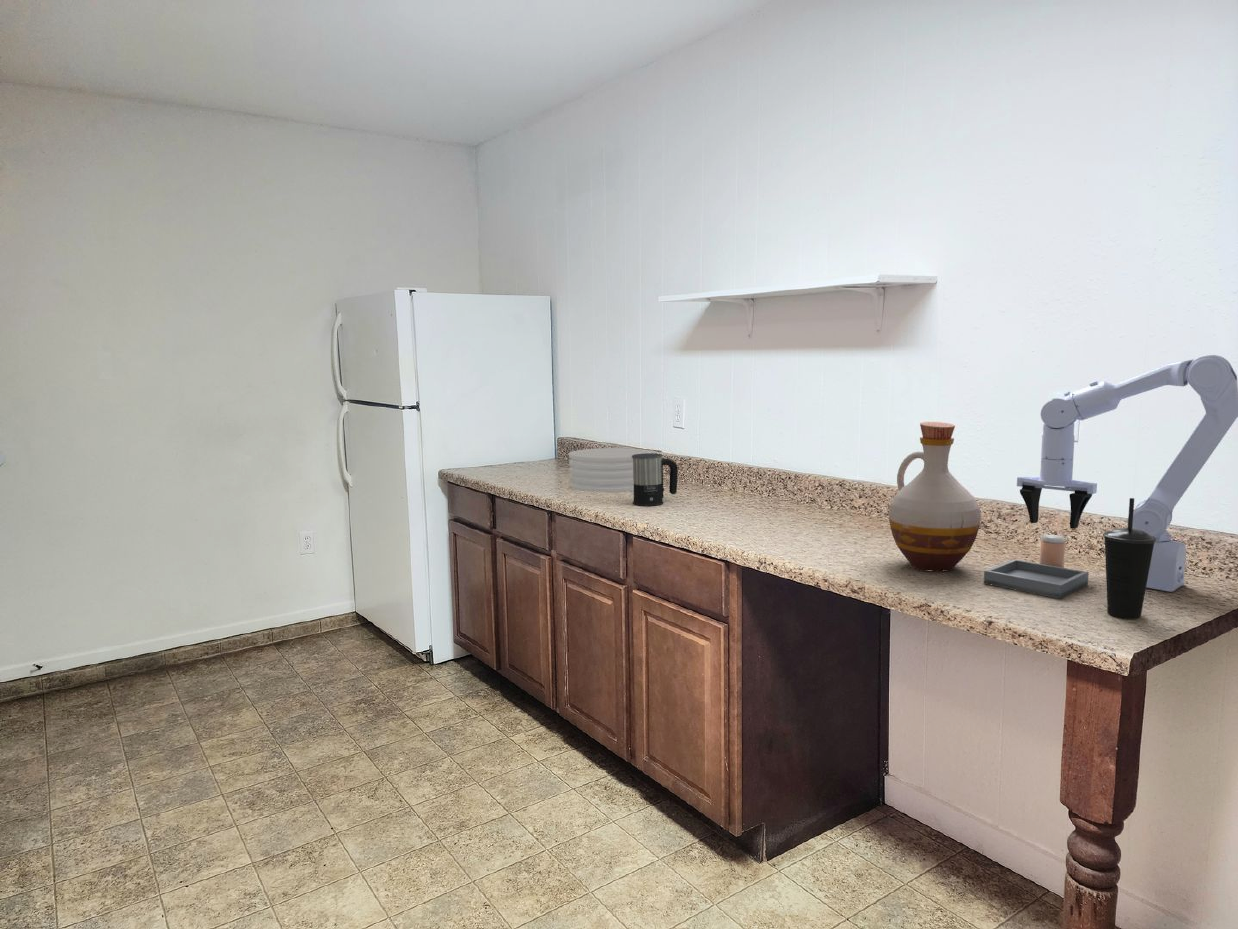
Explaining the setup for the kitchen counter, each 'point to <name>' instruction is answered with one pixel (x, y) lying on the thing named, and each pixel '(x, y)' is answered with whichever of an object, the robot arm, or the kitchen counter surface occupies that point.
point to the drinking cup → (1127, 568)
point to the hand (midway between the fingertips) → (1053, 525)
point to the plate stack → (603, 469)
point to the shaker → (1052, 550)
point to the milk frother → (651, 478)
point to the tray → (1036, 578)
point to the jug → (933, 506)
